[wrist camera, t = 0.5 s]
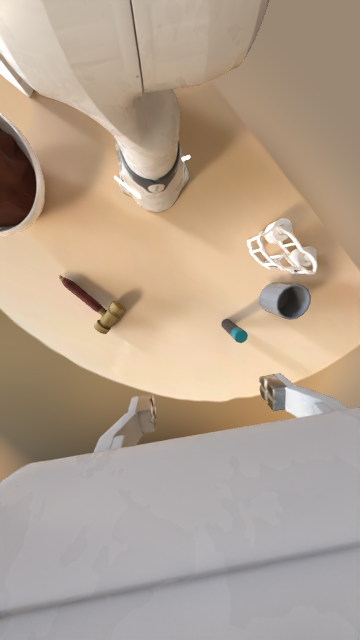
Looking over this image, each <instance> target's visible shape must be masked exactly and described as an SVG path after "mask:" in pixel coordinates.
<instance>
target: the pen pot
mask: <svg viewBox="0 0 360 640" xmlns="http://www.w3.org/2000/svg"><path fill="white" fill-rule="evenodd" d="M310 298H311V296H310V293H309V291H308V289H307V288H306V287H304V286H303V285H299V284H290V283H279V282H277V283H271V284H269V285H267V286H266V287H265V288H264V289H263V290H262V292H261V294H260V305H261V307H262V308H263V309H264V310H265V311H267V312H269V313H272V314H274V315H277V316H279V317H282V318H285V319H289V320H290V319H296V318H298V317H300V316H302V315H303V314H304V313H305V312H306V311H307V309H308V307H309V305H310Z"/></svg>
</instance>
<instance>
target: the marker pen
mask: <svg viewBox="0 0 360 640" xmlns="http://www.w3.org/2000/svg"><path fill="white" fill-rule="evenodd" d="M222 327H223V328H224V329H225V330H226V331H227V332H228V333H229V334H230V335H231V336H232V337H233V338H234V339H235V340H236V341H237V342H239V343H242V342H244V341H246V339H247V336H248V335H247V333H246V332H245V331H244V330H243V329H241V328H239V327H238V326H237V325H235V324H234V323H233V322H232V321H230V320H229V319H225V320H223V322H222Z"/></svg>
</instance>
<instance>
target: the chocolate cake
mask: <svg viewBox="0 0 360 640" xmlns="http://www.w3.org/2000/svg"><path fill="white" fill-rule="evenodd" d="M44 205H45V183H44V177H43V173H42V169H41V166H40V163H39V161H38V158H37V156H36V154H35V152H34V150H33V148H32V147H31V145H30V143H29V142H28V140H27V139H26V138H25V136H24V135H23V134H22V133H21V132H20V130H19V129H18V128H17V127H16V126H15V125H14V124H13V123H12V122H11V121H10V120H9V119H8V118H6V117H5V116H4V115H3V114H1V113H0V236H10V235H14V234H17V233H19V232H21V231H23V230H25V229H27V228H28V227H29V226H31V225H32V224H33V223H34V222H35V220H36V219H37V218H38V217H39V216H40V214H41V213H42V211H43V208H44Z"/></svg>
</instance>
